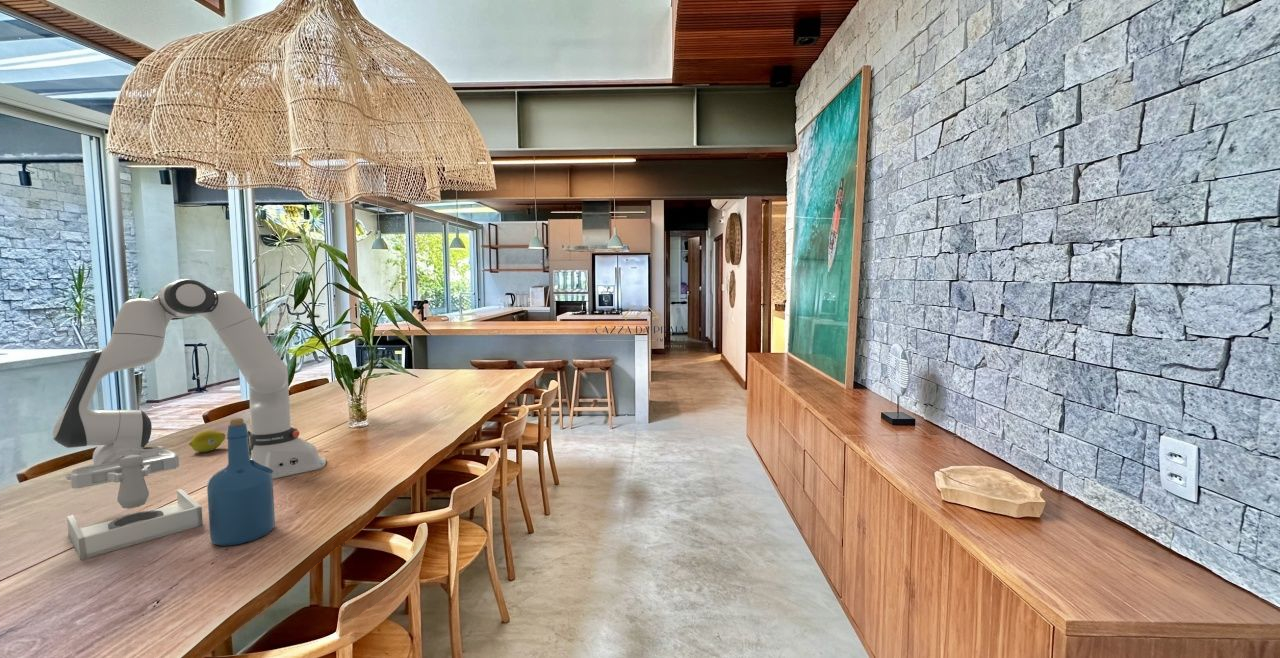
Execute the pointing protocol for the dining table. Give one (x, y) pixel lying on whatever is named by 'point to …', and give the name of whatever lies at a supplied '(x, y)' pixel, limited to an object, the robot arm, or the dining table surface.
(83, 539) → the box
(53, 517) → the dining table surface
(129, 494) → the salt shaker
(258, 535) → the wine bottle
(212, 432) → the lemon
